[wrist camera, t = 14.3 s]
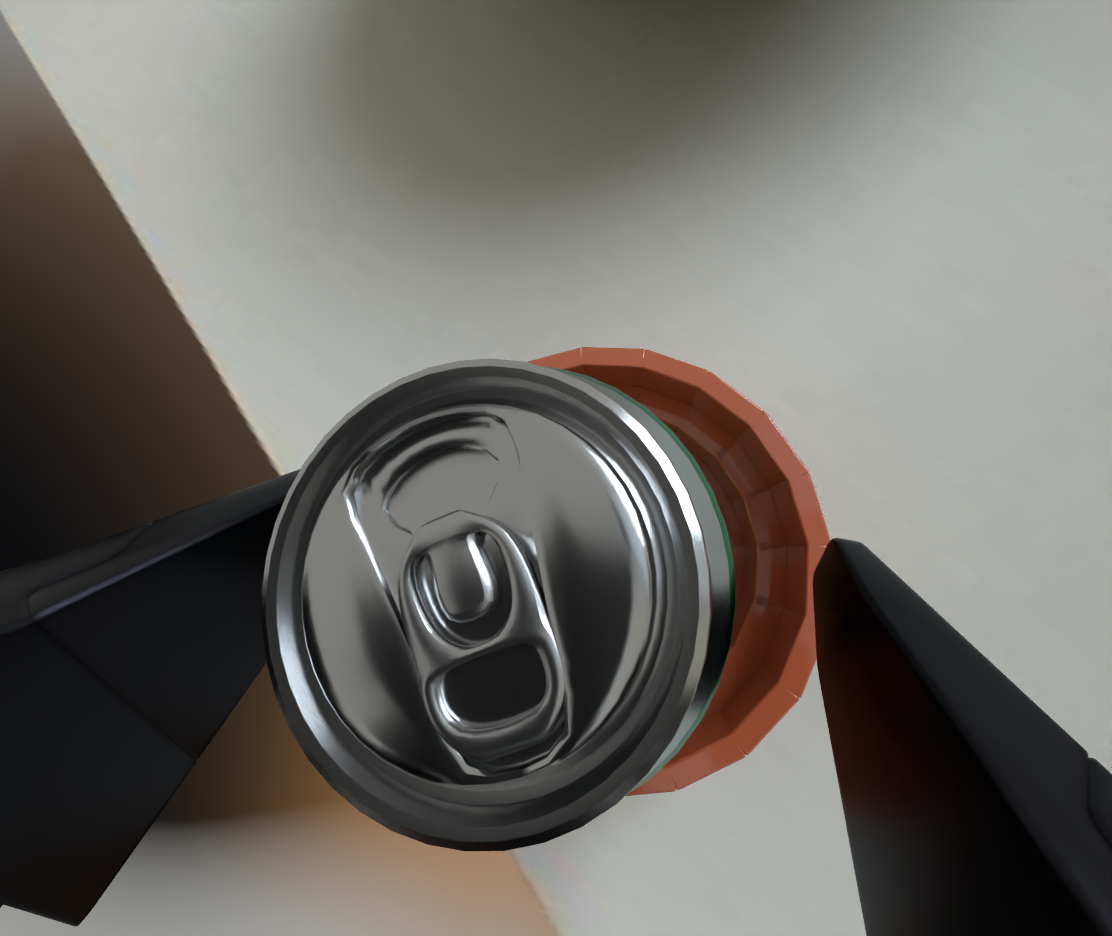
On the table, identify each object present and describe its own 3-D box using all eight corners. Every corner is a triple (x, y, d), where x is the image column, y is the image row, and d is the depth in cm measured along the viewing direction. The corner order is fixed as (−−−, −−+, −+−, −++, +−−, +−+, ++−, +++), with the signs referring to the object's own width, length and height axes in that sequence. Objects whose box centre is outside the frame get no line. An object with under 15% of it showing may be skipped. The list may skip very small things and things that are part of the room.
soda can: (639, 463, 16) (615, 233, 4) (699, 600, 15) (895, 807, 3) (512, 515, 16) (188, 440, 5) (560, 650, 15) (281, 982, 4)
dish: (616, 815, 15) (605, 912, 11) (391, 556, 18) (319, 559, 14) (865, 543, 14) (945, 542, 11) (593, 333, 18) (578, 273, 14)
